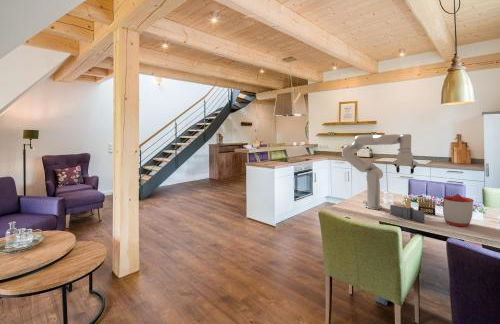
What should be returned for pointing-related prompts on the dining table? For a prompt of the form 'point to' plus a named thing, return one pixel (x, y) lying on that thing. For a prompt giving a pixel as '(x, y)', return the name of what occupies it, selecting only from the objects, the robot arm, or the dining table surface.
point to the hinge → (407, 213)
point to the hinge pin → (408, 203)
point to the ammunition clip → (426, 206)
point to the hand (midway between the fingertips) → (404, 173)
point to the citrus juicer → (457, 210)
